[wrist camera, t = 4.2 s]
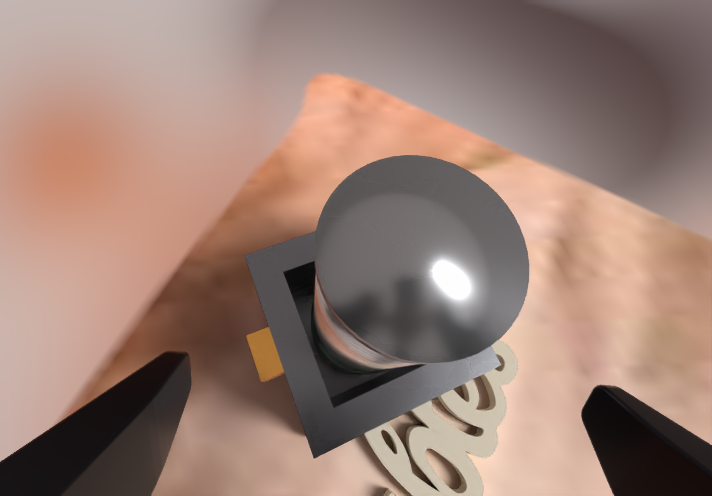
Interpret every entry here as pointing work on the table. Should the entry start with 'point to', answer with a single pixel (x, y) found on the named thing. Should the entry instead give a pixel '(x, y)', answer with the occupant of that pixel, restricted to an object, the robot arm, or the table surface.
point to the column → (414, 267)
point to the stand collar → (316, 377)
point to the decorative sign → (449, 434)
